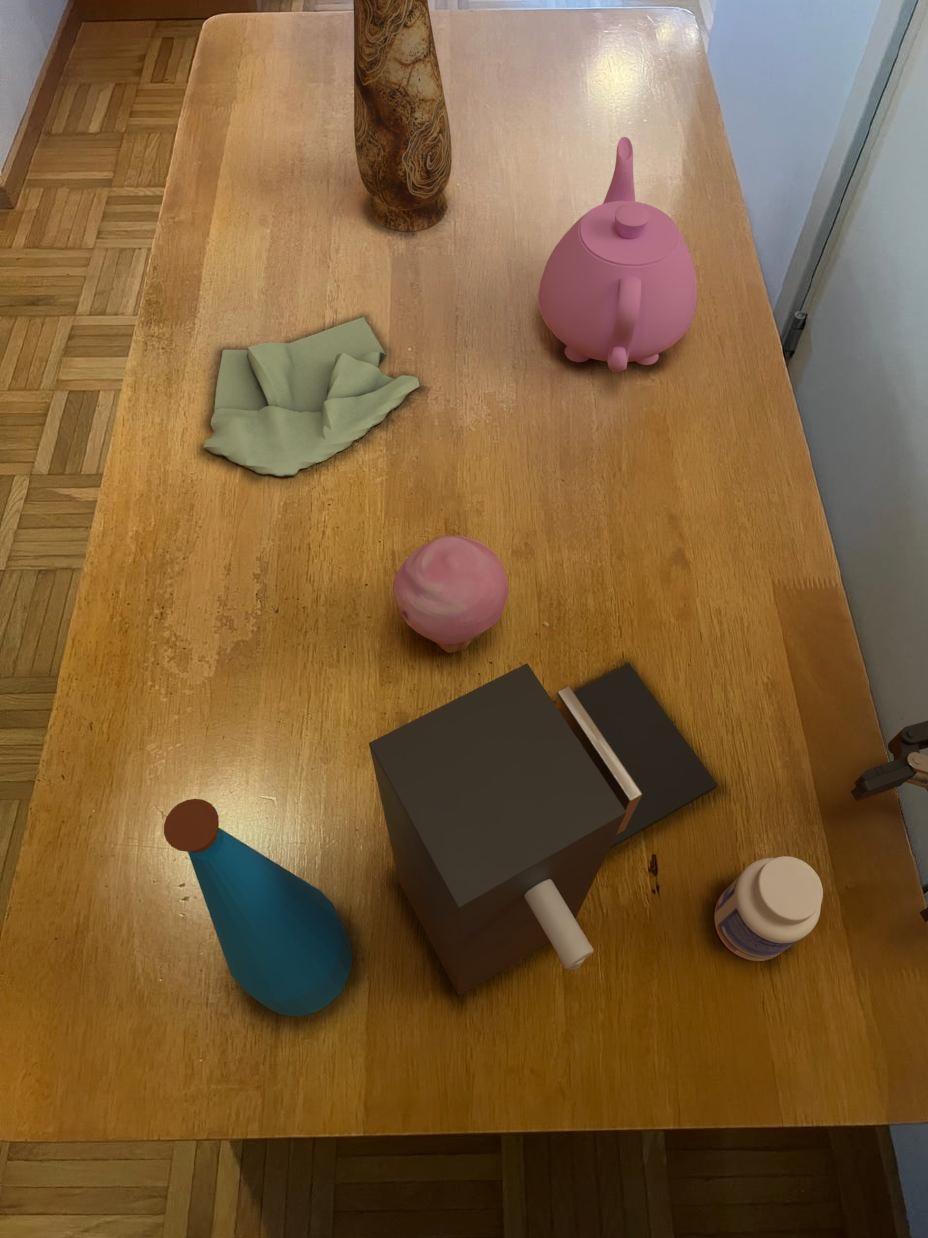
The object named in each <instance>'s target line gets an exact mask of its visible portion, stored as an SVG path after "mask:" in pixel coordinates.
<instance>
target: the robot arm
mask: <svg viewBox="0 0 928 1238" xmlns="http://www.w3.org/2000/svg"><path fill="white" fill-rule="evenodd" d="M887 749H888V751H889V752H890V753H891V754H892V756H893V757H892V758H893V760H892V761H889V762H886V763H883V764H880V765H878V766H875V767H872V768H869V769H866V770H865V771H864V772H863V773H862V774H861V775H860V776H859V777H858V778H857V779H856V780H855V781H854V782H853V783H854V784H855V787H854V788H852V790H850V794H851V795H852V797H853V799H854V801H855V802H859V801H861V800H864V799H868V798H870V797H873V796H876V795H879V794H882V793H885V792H887V791H890V790H893V789H895V788H898V787H901V786H902V785H903V784H905V783H907V784H910V785H914V786H917V787H921V788H924V789H925V790H926V792H928V755H927V754H924V753H921V750H925V749H928V720H925V721H922V722H918V723H915V724H911V725H907V726H904V727H903V728H902V729H901V730H900V731H898V733H896V735H895V736H893V738H892V739H891V740H889V741H888V743H887ZM918 912H919V914H920V916H921V918H922V920H923V921H924V923H928V907H925V908H924V909H922V910H921V911H920V910H919V911H918Z"/></svg>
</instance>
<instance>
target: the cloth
mask: <svg viewBox="0 0 928 1238" xmlns="http://www.w3.org/2000/svg"><path fill="white" fill-rule="evenodd" d="M386 356H387V354H386V352H385V350H384V349H383V347H382V346H381V343H380V341H379V340H378V338H377V336H376V335H375V334H374V332H373V330H372V328H371V326H370V325H369V324H368V322H367V321H366V319H365V317H364V316H362V317H360V318H357V319H354V320H350V321H348V322H345V323H342V324H339V325H336V326H334V327H331V328H328V329H325V330H322V331H320V332H317V333H314V334H312V335H309V336H305V337H302V338H300V339H297V340H294V341H291V342H279V341H278V342H276V341H274V342H271V341H269V342H268V341H267V342H266V341H264V342H261V343H258V344H253V345H250V346H247V349H223V350H222V354H221V359H220V364H219V369H218V375H217V376H218V377H217V382H216V389H215V399H214V400H215V402H214V408H213V415H212V417H211V420H210V426H211V428H212V430H213V433H212V436H211V437H209V438H207V439H205V441H204V444H203V449H204V450H206V451H208V452H209V453H211V454H212V455H216V456H219V457H222V458H223V459H226V460H227V461H229V462H231V463H233V464H236V465H240V466H242V467H245V468H246V469H248V470H249V471H250V470H251V471H252V472H254V474H256V475H257V474H258V475H263V476H264V475H273V476H276V477H279V478H285V477H295V476H296V475H297V473H298V472H299V470H301V469H307V468H311V467H312V466H314V465H316V464H318V463H321V462H325V461H327V460H329V459H330V458H333V457H334V456H335V455H336V454H337V453H339V452H341V451H345V450H346V449H348V448H349V447H351V445H352V444H353V443H354V441H357V440H359V439H360V438H363V437H365V436H366V435H367V434H368V432H370V430H371V428H372V427H375V426H377V425H378V424H381V423H383V422H384V420H385V419H386V417H387V416H388V414H389V412H390V411H393V410H394V409H396V408H397V407H400V405H401V404H402V403H403V402H404V400H405V399H406V397H407V395H409V394H410V393H411V392H412V391H414V390H416V389H417V388H419V387H420V383H419V378H418V377H416V376H413V375H404V374H401V375H400V376H398V377H397V378H393V377H391V376H389V375H386V374H384V372H383V371H382V370H381V369H380V368H379V365H380V364H381V363H383V361H384V360H385V358H386Z"/></svg>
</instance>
